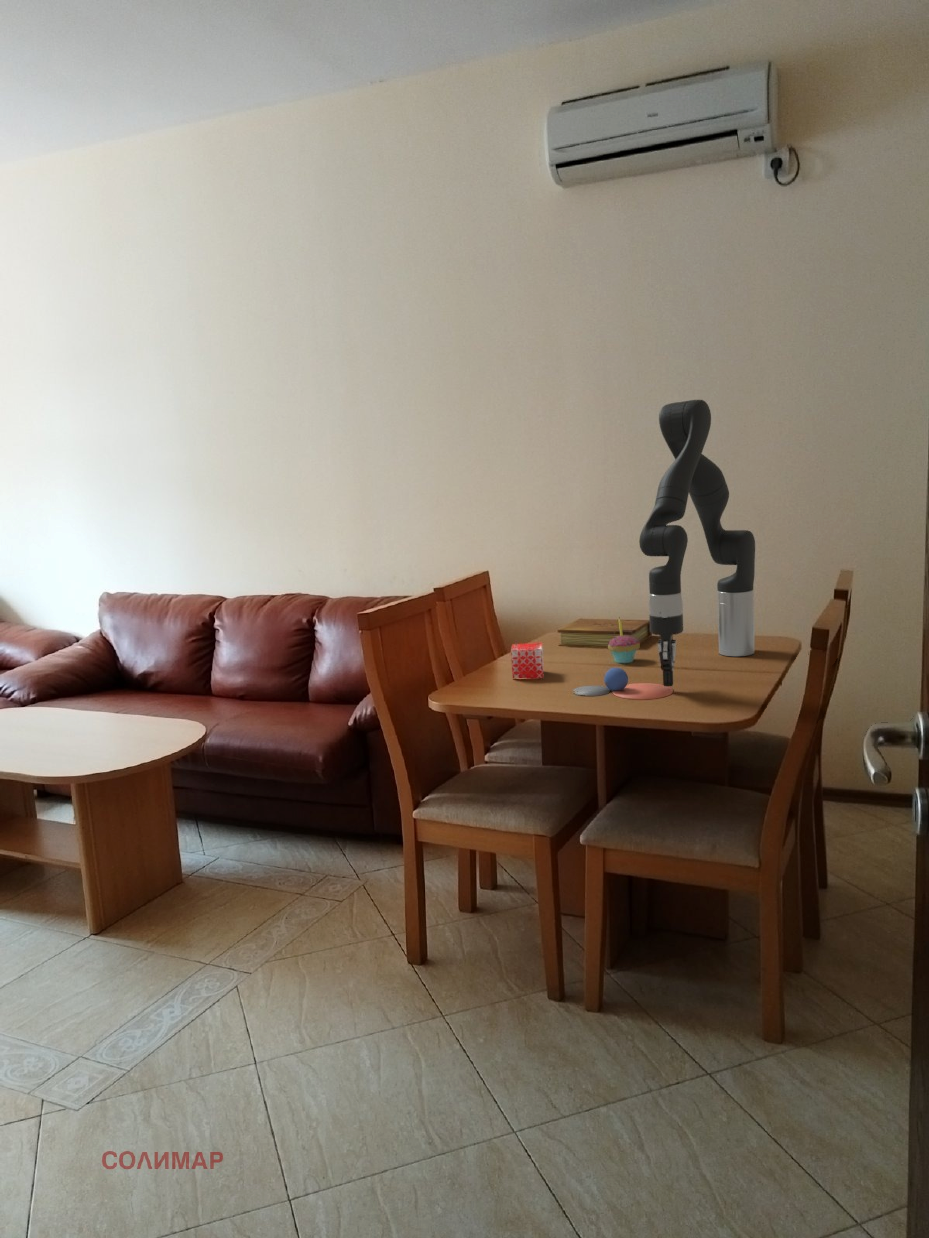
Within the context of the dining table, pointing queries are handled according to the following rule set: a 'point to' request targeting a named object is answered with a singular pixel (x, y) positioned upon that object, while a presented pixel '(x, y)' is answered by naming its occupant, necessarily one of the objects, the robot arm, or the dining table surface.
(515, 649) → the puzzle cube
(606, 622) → the diary
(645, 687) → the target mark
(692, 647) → the dining table surface
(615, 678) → the ball
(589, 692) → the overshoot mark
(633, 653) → the cupcake
